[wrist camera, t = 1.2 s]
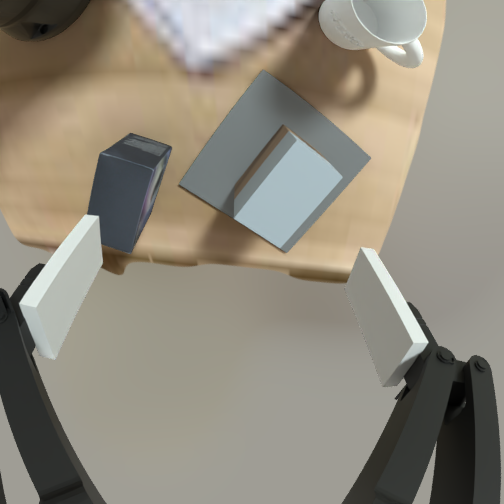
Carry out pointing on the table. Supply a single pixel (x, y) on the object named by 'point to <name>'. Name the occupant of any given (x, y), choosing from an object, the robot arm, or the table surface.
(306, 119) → the mat
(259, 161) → the block bottom
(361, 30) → the mug
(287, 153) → the block top
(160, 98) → the table surface
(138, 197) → the small box
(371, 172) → the table surface
